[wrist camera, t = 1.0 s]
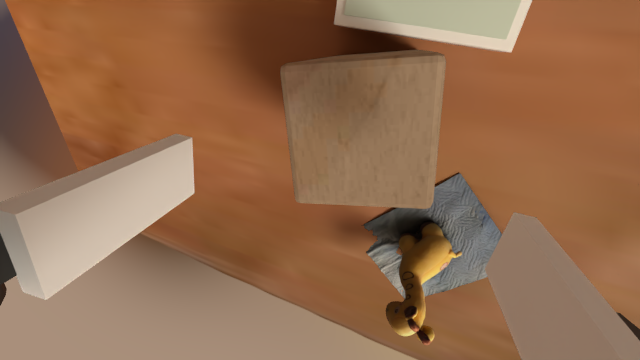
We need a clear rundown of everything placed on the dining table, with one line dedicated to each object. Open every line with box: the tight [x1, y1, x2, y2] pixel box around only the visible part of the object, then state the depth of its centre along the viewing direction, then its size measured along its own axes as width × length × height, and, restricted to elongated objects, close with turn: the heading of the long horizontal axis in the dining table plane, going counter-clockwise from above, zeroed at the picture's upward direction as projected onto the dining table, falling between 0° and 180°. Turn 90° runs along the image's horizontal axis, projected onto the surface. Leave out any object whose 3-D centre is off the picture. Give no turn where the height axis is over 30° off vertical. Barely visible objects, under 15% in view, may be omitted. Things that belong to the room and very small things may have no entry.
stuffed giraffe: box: [362, 173, 502, 345], centre depth 37 cm, size 16×18×16 cm
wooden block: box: [280, 50, 446, 209], centre depth 28 cm, size 10×10×20 cm
